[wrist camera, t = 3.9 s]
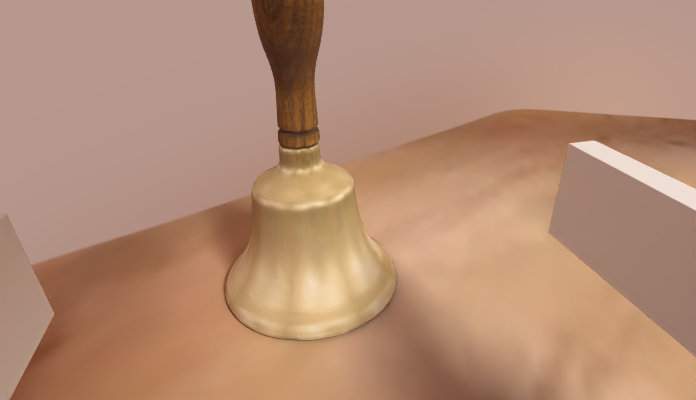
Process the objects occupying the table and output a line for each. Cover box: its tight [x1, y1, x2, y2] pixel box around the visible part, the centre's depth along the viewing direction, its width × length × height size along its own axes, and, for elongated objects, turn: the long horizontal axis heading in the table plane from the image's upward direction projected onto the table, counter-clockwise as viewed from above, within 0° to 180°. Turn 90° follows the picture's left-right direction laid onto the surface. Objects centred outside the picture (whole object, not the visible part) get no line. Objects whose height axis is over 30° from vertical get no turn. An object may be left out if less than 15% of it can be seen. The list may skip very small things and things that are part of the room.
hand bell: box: [225, 0, 397, 340], centre depth 17 cm, size 8×8×16 cm
